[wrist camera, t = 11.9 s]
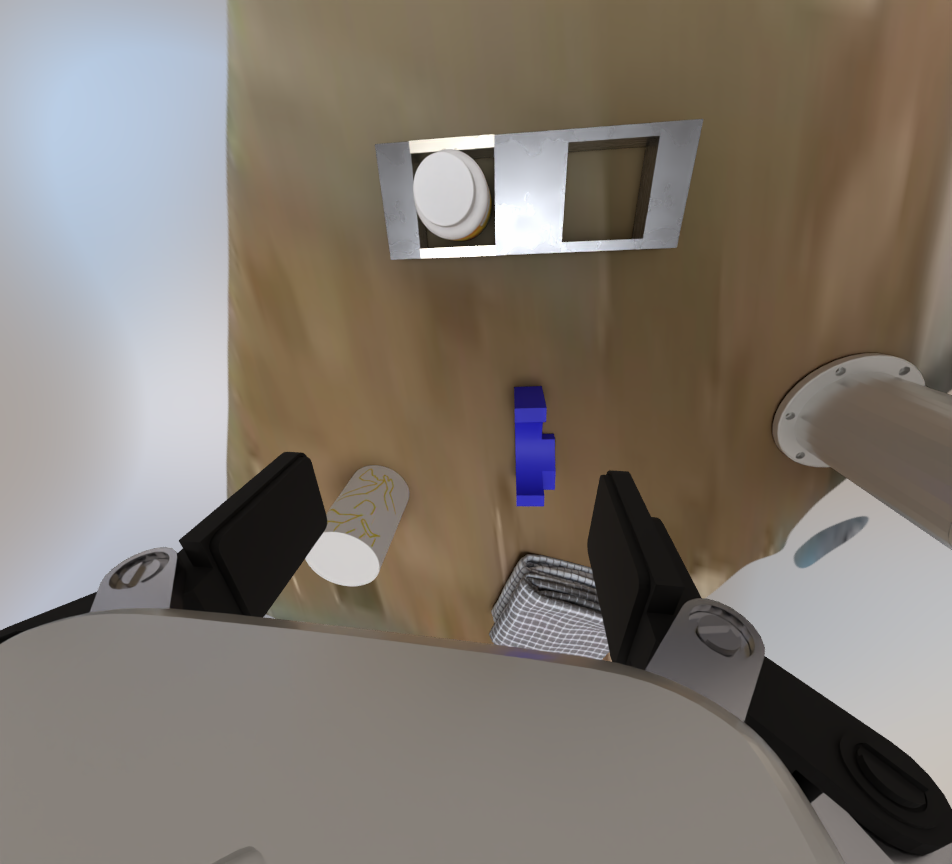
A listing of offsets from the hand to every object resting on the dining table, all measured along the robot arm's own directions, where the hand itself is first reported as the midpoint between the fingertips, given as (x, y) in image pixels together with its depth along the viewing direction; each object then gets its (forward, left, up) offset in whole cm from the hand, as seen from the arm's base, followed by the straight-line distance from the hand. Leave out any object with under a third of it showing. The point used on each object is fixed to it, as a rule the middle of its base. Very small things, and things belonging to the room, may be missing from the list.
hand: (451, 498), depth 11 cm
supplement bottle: (+3, -11, -28) cm, 30 cm away
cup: (+16, +21, -28) cm, 38 cm away
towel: (-10, +41, -28) cm, 51 cm away
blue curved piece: (-5, +12, -28) cm, 31 cm away
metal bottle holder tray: (-3, -11, -27) cm, 30 cm away
